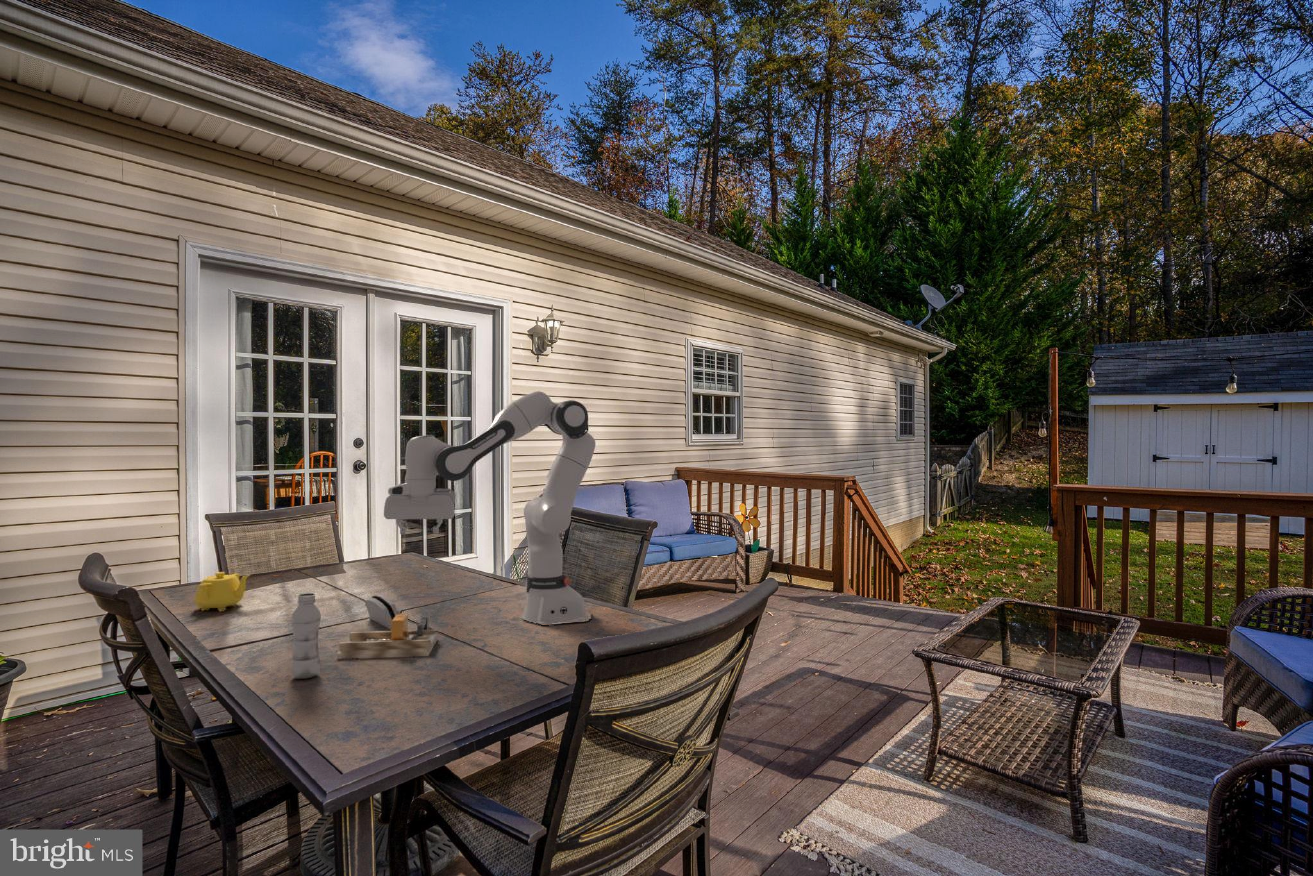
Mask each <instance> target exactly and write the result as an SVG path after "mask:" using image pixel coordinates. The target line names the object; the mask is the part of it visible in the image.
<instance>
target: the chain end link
mask: <svg viewBox="0 0 1313 876" xmlns="http://www.w3.org/2000/svg"><path fill="white" fill-rule="evenodd" d="M408 621H409V614H406V613H405V614H399V615H396V616H395V617H394V618H393V620H392V625H391V630H390V631H391V641H394V640H418V639H431V645H432V643H433V641H434V640H435V638H436V634H437V632H436V633H433V634H423V636H418V637H417V634H410V635H409V636H408V626H409V625H408V623H409V622H408ZM367 641H378V639H375V640H367ZM379 641H390V639H380V640H379Z"/></svg>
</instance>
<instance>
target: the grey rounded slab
mask: <svg viewBox="0 0 1313 876" xmlns="http://www.w3.org/2000/svg"><path fill="white" fill-rule="evenodd" d="M364 605H365V607H366V610H367V614H368V616H369V619H370V620H372V621H373V620H374V622H376V623H377V622H378V623H377V624H380V625H381V626H383V627H385V628H387V629H388V628H389V630H390V629H391V625H392V620H393V618H394V617H395V616H396V615H400V613H399V611H398V608H397V606H396V604H395V603H394V602H393V601H392V600H391V599H390V598H388V597H387V596H385V595H383V594H379V593H378V594H374V595H372V596H371V597H368V598H366V600H364Z"/></svg>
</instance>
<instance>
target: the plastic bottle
mask: <svg viewBox="0 0 1313 876" xmlns="http://www.w3.org/2000/svg"><path fill="white" fill-rule="evenodd" d="M315 603H316V593H314V592H306V593H301V594H298V596H297V604H298V605H297V607H296V608H295V610H294V611H293V613H291V617H290V618H291V619H290V620H291V627H292V635H293V637H292V638H293V646H292V647H293V648H292V658H291V662H290V667H289V668H290V669H289V670H290V674H291V676H292V678H294V679H295V680H303V679H304V680H305V679H311V678H313V677H316V676H317V675H318V674H319V672H320V671H321V666H322V665H321V659H320V658H321V657H320V653H319V652H320V651H319V632H320V626H321V618H322V614H321V611H320V609H319V608H318V607H317V605H316V604H315Z"/></svg>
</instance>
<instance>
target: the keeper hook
mask: <svg viewBox="0 0 1313 876" xmlns="http://www.w3.org/2000/svg"><path fill="white" fill-rule="evenodd" d="M429 620H430V619H429V616H428V617H427V616H424V617H421V618H420V621H419V622H418V624H417V626H416V627H417V629H416V630H417V637H418V636H423V630H429Z"/></svg>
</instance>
